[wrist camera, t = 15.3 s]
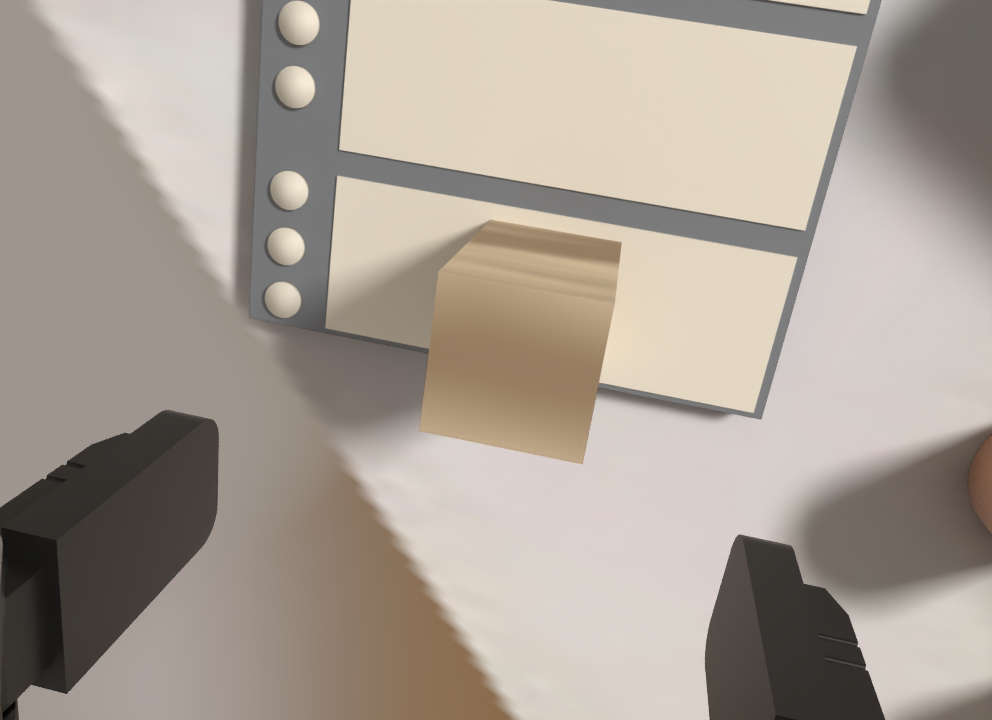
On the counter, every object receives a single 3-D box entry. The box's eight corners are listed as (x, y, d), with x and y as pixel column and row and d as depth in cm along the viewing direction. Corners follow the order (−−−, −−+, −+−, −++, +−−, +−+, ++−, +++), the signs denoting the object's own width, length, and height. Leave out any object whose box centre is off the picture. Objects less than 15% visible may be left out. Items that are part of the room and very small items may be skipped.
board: (293, -275, 23) (272, -296, 21) (927, -200, 21) (946, -218, 20) (264, 308, 29) (246, 319, 27) (756, 404, 27) (762, 422, 26)
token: (491, 219, 25) (438, 271, 19) (621, 241, 25) (614, 303, 18) (474, 342, 26) (419, 431, 20) (597, 366, 26) (582, 464, 19)
